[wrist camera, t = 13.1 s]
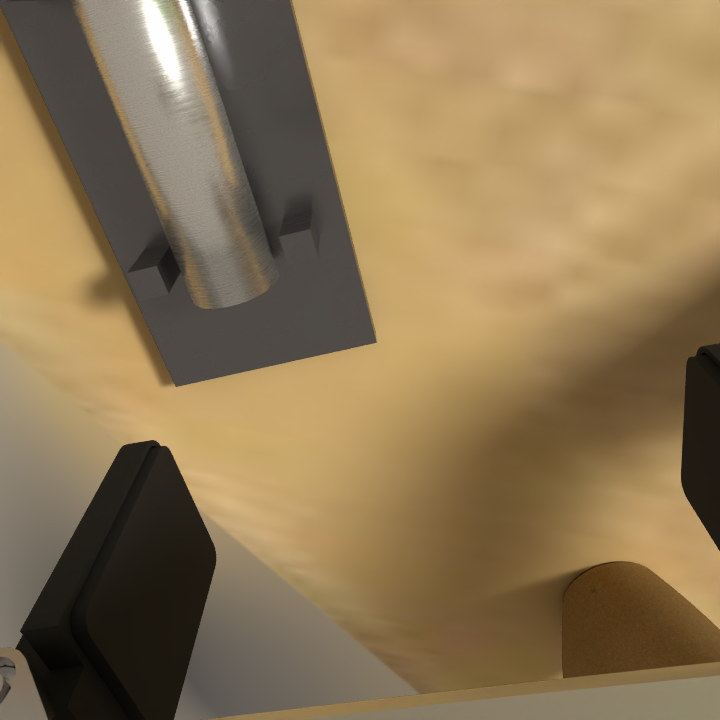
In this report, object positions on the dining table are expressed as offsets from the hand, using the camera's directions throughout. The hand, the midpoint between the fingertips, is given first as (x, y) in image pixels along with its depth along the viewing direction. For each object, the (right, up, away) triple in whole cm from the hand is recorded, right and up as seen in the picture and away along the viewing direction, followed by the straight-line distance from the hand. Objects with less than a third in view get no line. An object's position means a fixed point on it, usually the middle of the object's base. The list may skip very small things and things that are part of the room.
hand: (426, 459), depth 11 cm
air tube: (-10, +15, +17) cm, 24 cm away
